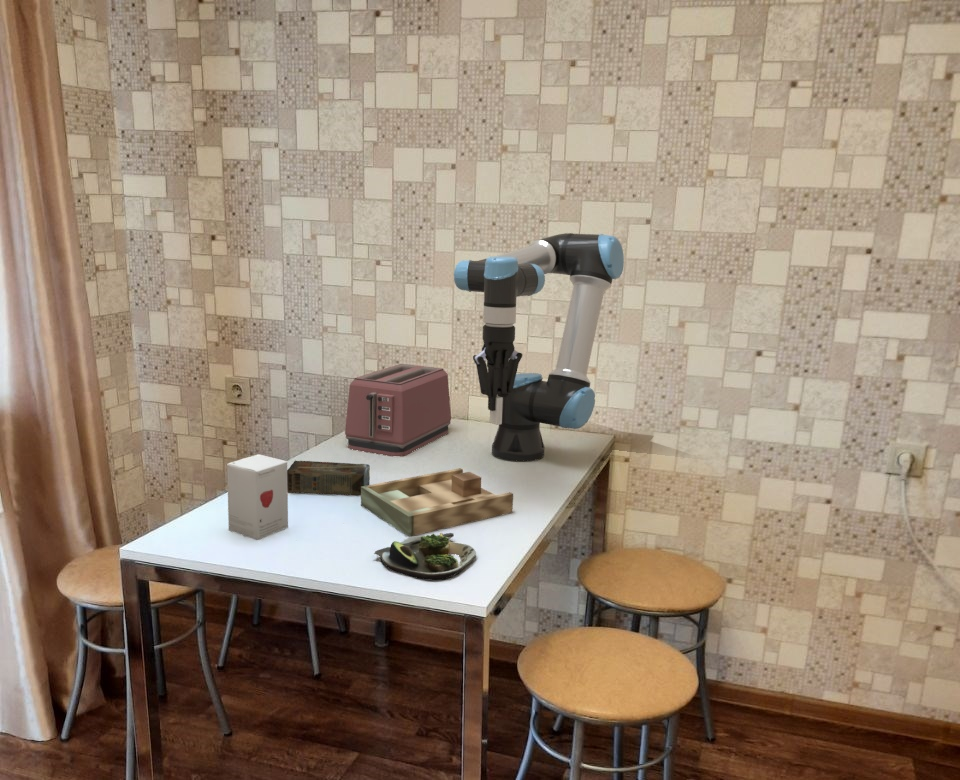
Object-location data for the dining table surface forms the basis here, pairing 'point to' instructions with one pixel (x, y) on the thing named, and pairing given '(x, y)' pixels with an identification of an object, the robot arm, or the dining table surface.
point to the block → (466, 484)
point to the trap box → (430, 503)
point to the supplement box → (257, 496)
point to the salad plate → (427, 556)
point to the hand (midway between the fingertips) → (495, 423)
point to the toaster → (397, 409)
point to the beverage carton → (327, 478)
